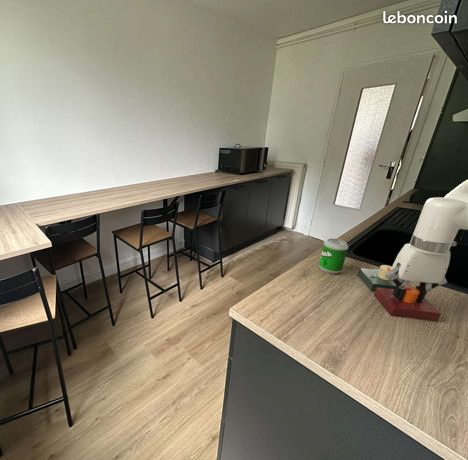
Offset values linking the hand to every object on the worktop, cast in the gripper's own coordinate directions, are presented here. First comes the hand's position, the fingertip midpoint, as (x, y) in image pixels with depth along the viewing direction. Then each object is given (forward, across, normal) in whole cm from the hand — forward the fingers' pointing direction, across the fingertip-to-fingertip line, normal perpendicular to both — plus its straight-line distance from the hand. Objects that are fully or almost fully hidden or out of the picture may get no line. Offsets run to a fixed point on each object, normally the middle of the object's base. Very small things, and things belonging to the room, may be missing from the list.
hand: (406, 298), depth 75 cm
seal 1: (0, 0, -12) cm, 12 cm away
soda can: (+4, +14, -19) cm, 24 cm away
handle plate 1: (+3, 0, -12) cm, 12 cm away
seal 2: (0, 0, 0) cm, 0 cm away
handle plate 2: (+3, 0, 0) cm, 3 cm away
